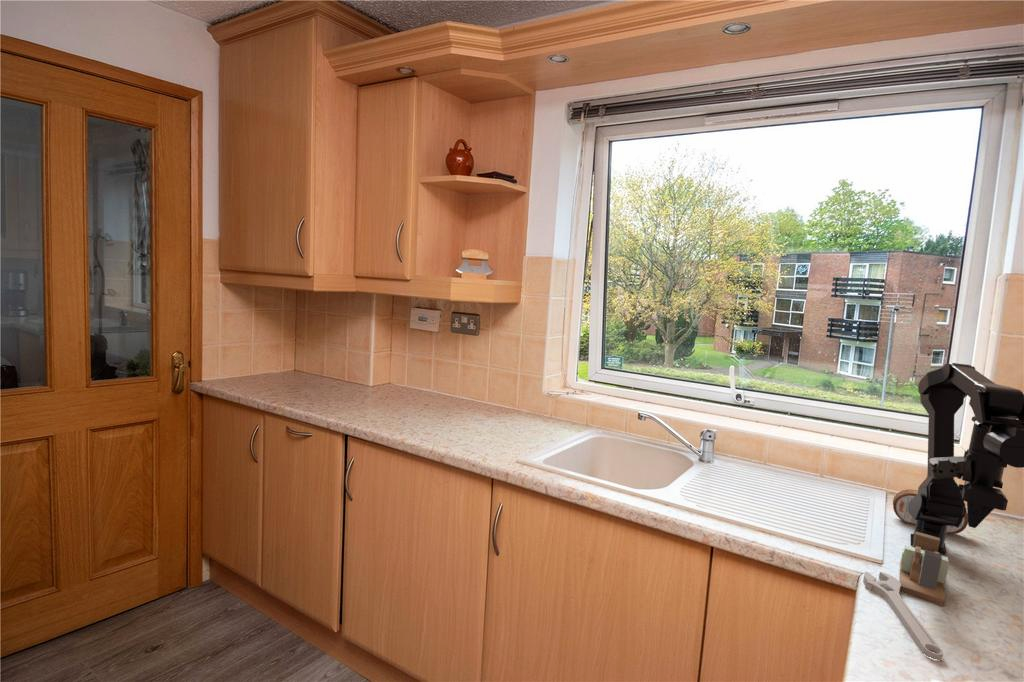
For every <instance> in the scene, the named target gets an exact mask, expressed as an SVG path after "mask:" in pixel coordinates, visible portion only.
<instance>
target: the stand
mask: <svg viewBox="0 0 1024 682" xmlns="http://www.w3.org/2000/svg"><path fill="white" fill-rule="evenodd" d="M939 544H940V538H938V537H934V536H931V535H927V534H923V533H920V532H916V533H915V538H914V543H913V545H912V547H914V548H915V552H914V556H913V559H912V564H911V569H910V573H909V572H906V571H903V570H901V561H900V562H899V579H898V580H899V582H900V583H901V587H900V592H899V593H903V594H906V595H908V596H911V597H915V598H918V599H921V600H924V601H926V602H929V603H933V604H936V605H940V606H942V607H945V606H946V605H945V604H946V601H947V600H946V593H945V582H944V583H941V582H938V581H937V585H936V589H935V590H933V589H929V588H926V587H923V586H920V585H919V577H920V572H921V558H920V555H921V550H924V551H925V550H928V551H931V552H935V553H938V554H940V553H939V552H938V549H939Z"/></svg>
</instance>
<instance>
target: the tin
mask: <svg viewBox="0 0 1024 682" xmlns="http://www.w3.org/2000/svg"><path fill="white" fill-rule="evenodd" d="M917 494H918V490H917V489H913V488H912V489H910V488H908V489H903V490H901V491H898V492H897V493H896V494H895V495H894V497H893V500H892V507H893V512H894V513H895V515H896V517H898V519H900V521H902V522H904V523H905V524H909V525H912V526H915V525H916V520H915V519H914V518H913V517H912V516H911V515H910V513H909V512H908V504H909V502H910V501H911V500H912V499H913V498H914V497H915V496H916V495H917ZM967 526H968V511H967V510H966V513H965V515H964V517H963V520H962V522H961V524H960V526H959V528H958V527H954V526H949V525H948V528H947V533H946V535H956V534H960V533H961V532H964V531H965V529H966V528H967Z"/></svg>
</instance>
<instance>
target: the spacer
mask: <svg viewBox="0 0 1024 682" xmlns="http://www.w3.org/2000/svg"><path fill="white" fill-rule="evenodd" d="M914 552H915V548H914V547H913V546H912V545H911V546H909V545H907V544H905V545H904V549H903V548H902V553H901V558H900V562H901V570H903V571H906V572H909V573H910V569H911V564H912V559H913V556H914ZM924 552H925V551H924V550H921V555H920V558H922V554H924ZM941 556H942V560H941V565H940V570H939V575H938V580H937V581H938V582H941V583H944V584H945V579H947V576H948V571H949V566H950V565H949V557H948V556H944V555H943V554H941Z"/></svg>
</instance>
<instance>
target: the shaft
mask: <svg viewBox="0 0 1024 682" xmlns="http://www.w3.org/2000/svg"><path fill="white" fill-rule="evenodd" d="M941 555H942V554H938V553H935V552H931V551H928V550H925V552H924V554H922V558H921V572H920V577H919V585H920V586H923V587H926V588H929V589H933V590H935V589H936V585H937V580H938V575H939V570H940V565H941V560H942V556H943V555H942V556H941Z"/></svg>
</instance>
